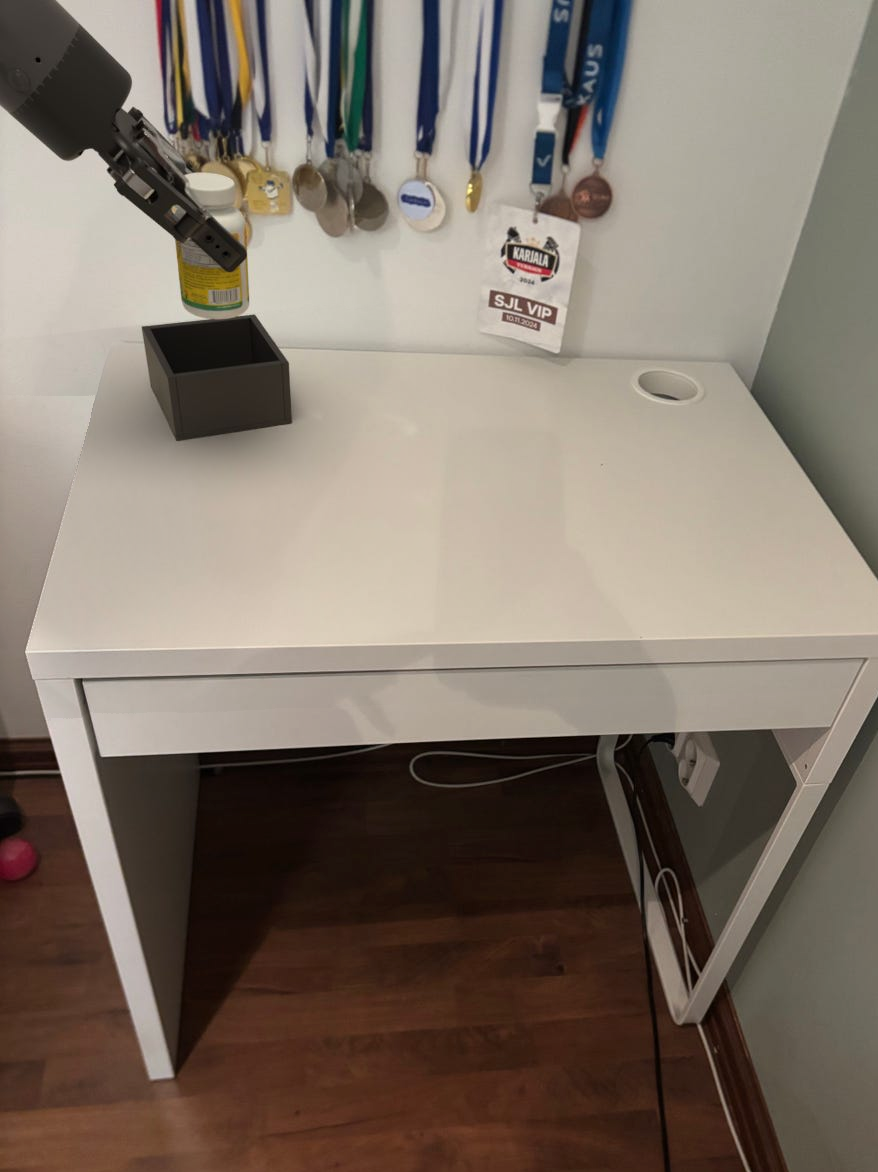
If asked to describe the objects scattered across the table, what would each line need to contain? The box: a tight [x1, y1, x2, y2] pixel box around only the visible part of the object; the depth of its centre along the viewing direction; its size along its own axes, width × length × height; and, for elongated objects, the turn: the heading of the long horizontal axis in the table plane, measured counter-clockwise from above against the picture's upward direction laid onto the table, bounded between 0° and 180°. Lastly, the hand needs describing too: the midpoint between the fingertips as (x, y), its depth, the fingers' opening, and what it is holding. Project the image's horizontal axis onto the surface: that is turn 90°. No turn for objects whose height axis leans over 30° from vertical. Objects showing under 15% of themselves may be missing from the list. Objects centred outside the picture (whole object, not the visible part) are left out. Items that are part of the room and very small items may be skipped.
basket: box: [141, 313, 293, 441], centre depth 95 cm, size 11×11×6 cm
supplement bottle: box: [174, 171, 250, 320], centre depth 74 cm, size 5×5×10 cm
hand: (234, 247), depth 74 cm, fingers closed on supplement bottle, 5 cm apart
